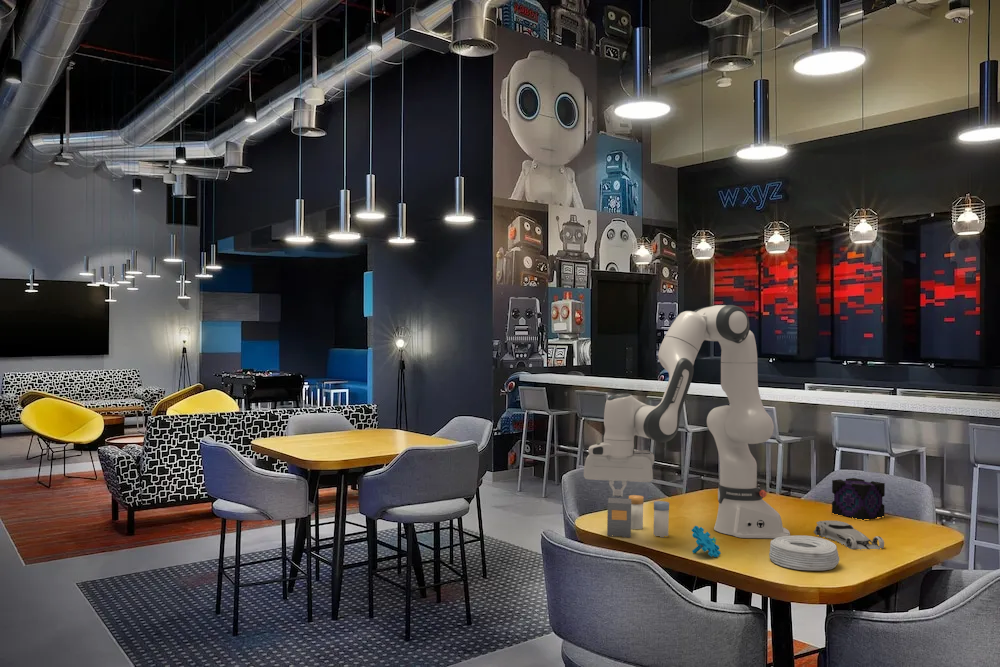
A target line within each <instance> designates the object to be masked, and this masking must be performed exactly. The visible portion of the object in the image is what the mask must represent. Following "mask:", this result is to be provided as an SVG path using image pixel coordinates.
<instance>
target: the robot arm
mask: <svg viewBox="0 0 1000 667" xmlns="http://www.w3.org/2000/svg"><path fill="white" fill-rule="evenodd" d="M706 341H708V342H718V343H719V346H720V350H721V352H720V354H721V355H720V387H721V389H722V391H723V392H724V393H725V395H726V397H727V399H728V402H729V405H726V404H725V405H720V406H717V407H714V408H712V409H711V410H710V411H709V412H708V414H707V417H706V427H707V429H708V430H709V432H710V433H711V434H712V436H713V438H714V442H715V445H716V448H717V449H716V450H717V453H718V459H719V481H720V482H719V484H718V488H717V500H718V509H717V514H716V520H715V524H714V527H713V530H714V531H716V532H718V533H721V534H723V535H724V534H725V535H729V536H733V537H736V538H739V539H775V538H778V537H783V536H791V533H790V530H789V529H787V528H785V527H783V521H782V518H781V514H780V513H779V512H778V511H777V510H776V509H775V508H774V507H772V506H771V505H770V504H769V503H768V502H766V501H765V500H764V498H767V495H768V494H767V492H766V490H764V489H762V488H760V487H758V486H757V484H758V482H757V479H758V477H757V476H758V464H757V461H756V459H755V457H754V456H753V454H752V453H751V450H750V446H749V445H756V444H763V443H765V442H768V441H769V440H770V439H771V437H772V436H773V434H774V429H775V428H774V427H775V425H774V424H775V423H774V422H773V418H772V417H771V416H770V415H769V413H768V412H767V411H766V409H765V407H764V404H763V402H762V398H761V395H760V390H759V384H758V383H759V381H758V380H759V376H758V375H759V374H758V372H759V371H758V350H757V344H756V343H757V342H756V338H755V334H754V333H753V331H751V328H750V319H749V316H748V314H747V312H746V311H745V309H743V308H742V307H740V306H737V305H735V304H734V305H733V304H727V305H726V304H723V305H722V304H719V305H718V304H716V305H712V306H706V307H700V308H697V309H695V310H685V311H682V312H680V313H679V314H678V315H677V317H676V318H675V319H674V320H673V322H671V325H670V326H669V328H668V330H667V331H666V334H665V335H664V338H663V340H662V342H661V343H660V346H659V350H658V354H657V357H658V361H659V363H660V365H661V366H662V368H664V369H665V371H667V372H668V381H667V384H666V387H665V391H664V393H663V396H662V398H661V401H660V402H659V404H657V405H650V404H647V403H644V402H642V401H640V400H638V399H637V398H635V397H634V396H633V395H632V394H631V393H627V392H626V393H625V392H624V393H616V394H612V395H610V396H608V397H607V398H606V402H605V405H604V411H603V412H604V413H603V425H604V434H603V442H598V443H595V444H591V445H589V447H588V455H587V457H586V458H585V461H584V465H583V466H584V467H583V478H584V479H585V480H589V481H590V480H596V481H608V484H609V487H610V488H611V490H612V497H624V490H625V489H626V487H627V484H628V482H636V483H651V482H652V481H653V479H654V474H653V470H654V469H653V465H655V454H654V453H653V452H652V451H650V450H649V449H634V448H635V445H634V443H635V436H637V437H641V438H645V439H650V440H652V441H654V442H658V443H667V442H670V441H671V440H672V439H674V438H675V436H676V435H677V433H678V431H679V428H680V424H681V423H680V421H681V413H682V410H683V407H684V404H685V401H686V397H687V396H688V391H689V389H690V386H691V383H692V379H693V376H694V371H695V368H694V365H695V360H696V358H697V356H698V353H699V351H700V349H701V347H702V345H703V342H706ZM616 481H617V482H621V485H622V486H621V488H620V489H618V488H617V489H616V488H615V486H614V484H615V482H616Z"/></svg>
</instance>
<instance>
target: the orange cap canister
mask: <svg viewBox="0 0 1000 667" xmlns="http://www.w3.org/2000/svg"><path fill="white" fill-rule="evenodd" d="M644 498H645V497H644V495H639V494H637V495H636V494H631V495H628V499H631V530H633V529H641V530H643V529H644V528H643V527H644V502H645V500H644ZM642 528H643V529H642Z"/></svg>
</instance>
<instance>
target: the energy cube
mask: <svg viewBox="0 0 1000 667" xmlns="http://www.w3.org/2000/svg"><path fill="white" fill-rule="evenodd" d="M831 481H832V482H831V483H832V485H831V486H832V488H831V489H832V490H831V493H832V494H833V501H832V502H831V514H832V513H834V514H838V515H843V516H844V517H849V516H850V517H853V518H857V519H862V520H864V519H871V520H872V519H875V518H877V517H882V516H884V517H885V505H884V504H883V497H885V495H886V494H885V490H886V488H885V484H886V483H885V482H878V481H874V480H873V481H865V479H862V478H857V477H856V478H855V477H849V478H845V480H843V479H832V480H831ZM838 515H837V516H838ZM850 517H849V518H850ZM874 517H875V518H874Z"/></svg>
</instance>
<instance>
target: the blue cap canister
mask: <svg viewBox="0 0 1000 667" xmlns="http://www.w3.org/2000/svg"><path fill="white" fill-rule="evenodd" d="M669 511H670V502H669V501H665V500H655V501H653V533H652V534H654V535H655V536H654V535H653V536H654V537H656V536H660V537H659V538H665V537H664V536H668V537H669V520H670V519H669V518H670V516H669V514H670V513H669Z"/></svg>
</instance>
